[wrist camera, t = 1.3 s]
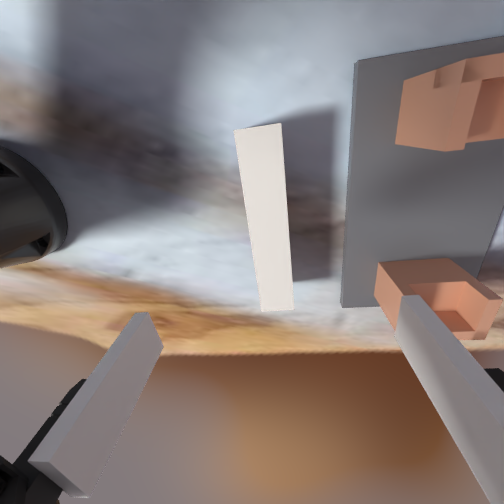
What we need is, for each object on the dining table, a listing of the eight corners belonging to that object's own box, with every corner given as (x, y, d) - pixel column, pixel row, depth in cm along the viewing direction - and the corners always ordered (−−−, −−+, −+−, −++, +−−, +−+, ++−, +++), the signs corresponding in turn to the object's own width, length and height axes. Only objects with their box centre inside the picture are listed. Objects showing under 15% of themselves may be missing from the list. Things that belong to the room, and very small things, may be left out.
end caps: (340, 302, 35) (360, 354, 27) (354, 63, 22) (400, 27, 14) (461, 297, 33) (521, 352, 25) (555, 29, 20) (744, -35, 12)
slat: (263, 282, 34) (261, 311, 29) (242, 129, 25) (233, 130, 20) (291, 281, 34) (294, 309, 29) (279, 123, 25) (281, 122, 19)
